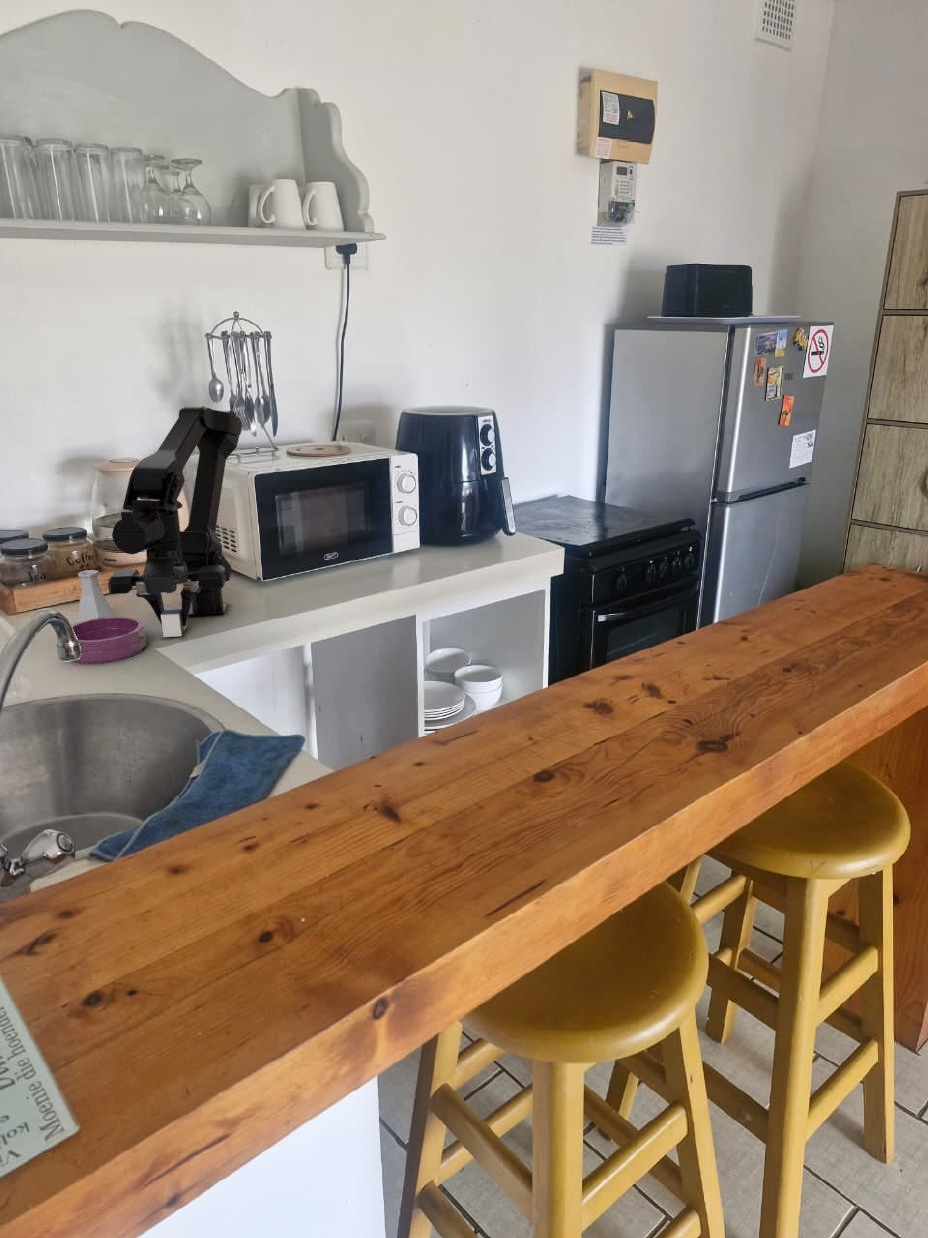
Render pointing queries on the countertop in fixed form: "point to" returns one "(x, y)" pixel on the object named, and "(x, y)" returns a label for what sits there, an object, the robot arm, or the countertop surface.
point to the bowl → (109, 639)
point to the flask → (92, 598)
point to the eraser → (172, 621)
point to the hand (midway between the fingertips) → (174, 626)
